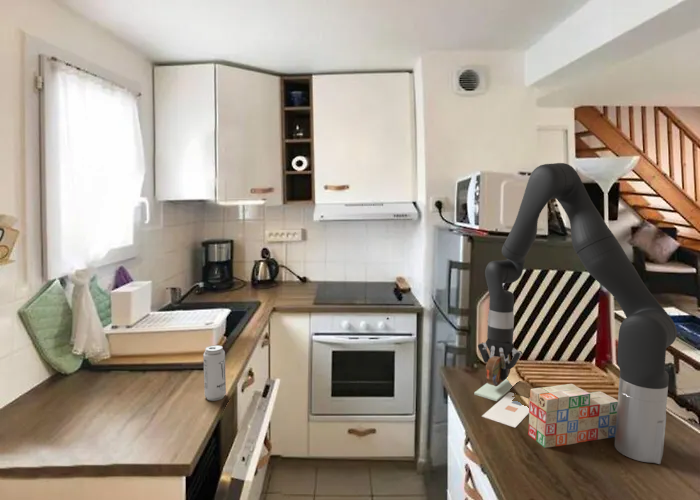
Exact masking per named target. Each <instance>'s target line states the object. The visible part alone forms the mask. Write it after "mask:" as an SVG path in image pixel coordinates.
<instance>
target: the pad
mask: <svg viewBox="0 0 700 500" xmlns="http://www.w3.org/2000/svg"><path fill="white" fill-rule="evenodd" d="M511 388H512V385H511V384H510V383H509V381H508V380H507V379H505V380H504V381H503V382H502V383H500V384H499V385H498V386H494V385H490V384H488V383H487V382H486V383H485V384H483V385H482V386H481V387H480V388H478V389H476V391H474V396H479V397H480V398H484V399H488V400H491V401H494V402H499V401H500V400H501V399H502V398H503V397H504V396H505V395H507V394H508V393H509V392H510V391H511V390H512V389H513V388H512V389H511ZM510 389H511V390H510Z"/></svg>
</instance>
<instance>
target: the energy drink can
mask: <svg viewBox="0 0 700 500" xmlns="http://www.w3.org/2000/svg"><path fill="white" fill-rule="evenodd" d="M203 380H204V381H203V382H204V386H203V387H204V397H205V398H206V399H207V400H208V401H211V402H213V401H220V400H222V399H223V398H224V397H225V395H226V394H227V388H226V385H227V383H226V382H227V381H226V352H225V350H224V349H223V346H222V345H218V344H216V345H209V346H206V347H205V351H204V352H203Z"/></svg>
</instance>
